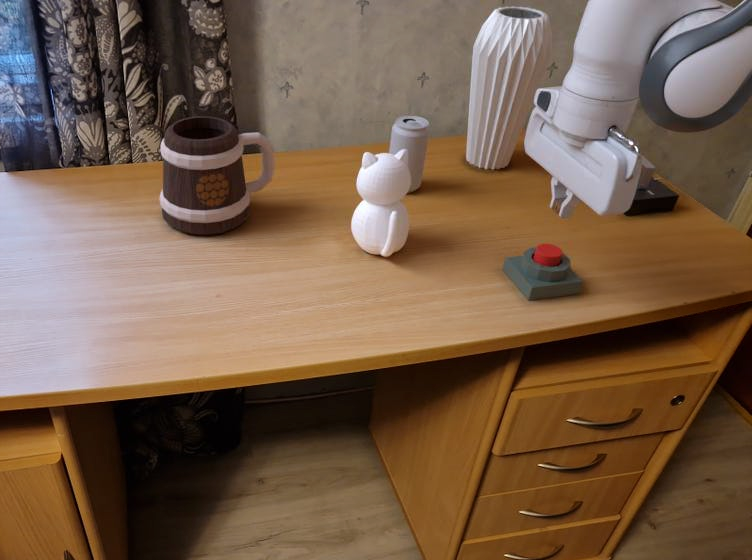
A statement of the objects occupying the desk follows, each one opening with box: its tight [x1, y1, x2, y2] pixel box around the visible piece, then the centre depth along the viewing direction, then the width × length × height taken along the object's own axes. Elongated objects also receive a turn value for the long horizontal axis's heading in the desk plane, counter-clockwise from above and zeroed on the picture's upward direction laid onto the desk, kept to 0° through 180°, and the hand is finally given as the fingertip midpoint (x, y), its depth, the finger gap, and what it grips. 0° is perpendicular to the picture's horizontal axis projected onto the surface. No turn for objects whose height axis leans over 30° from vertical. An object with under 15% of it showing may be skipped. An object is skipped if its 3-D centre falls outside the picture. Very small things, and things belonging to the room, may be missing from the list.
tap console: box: [622, 175, 680, 217], centre depth 119 cm, size 12×10×3 cm
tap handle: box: [637, 152, 656, 189], centre depth 117 cm, size 6×2×4 cm, turn 2°
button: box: [533, 243, 564, 267], centre depth 97 cm, size 4×4×2 cm
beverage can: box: [388, 115, 431, 194], centre depth 119 cm, size 6×6×12 cm
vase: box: [465, 6, 553, 171], centre depth 123 cm, size 13×13×26 cm
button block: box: [501, 246, 584, 301], centre depth 99 cm, size 8×8×4 cm
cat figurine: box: [350, 149, 411, 258], centre depth 102 cm, size 9×12×15 cm
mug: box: [158, 115, 275, 236], centre depth 110 cm, size 20×15×15 cm
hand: (560, 213), depth 93 cm, fingers closed
